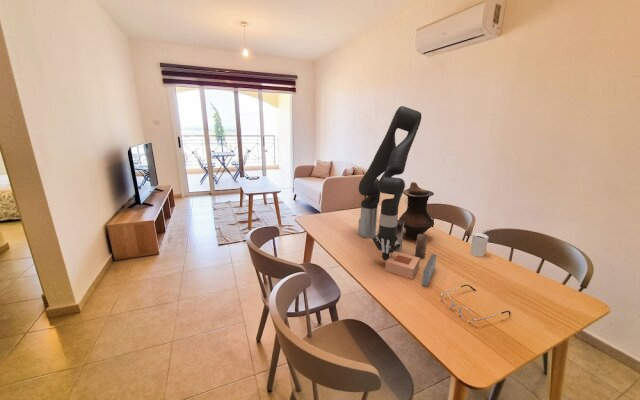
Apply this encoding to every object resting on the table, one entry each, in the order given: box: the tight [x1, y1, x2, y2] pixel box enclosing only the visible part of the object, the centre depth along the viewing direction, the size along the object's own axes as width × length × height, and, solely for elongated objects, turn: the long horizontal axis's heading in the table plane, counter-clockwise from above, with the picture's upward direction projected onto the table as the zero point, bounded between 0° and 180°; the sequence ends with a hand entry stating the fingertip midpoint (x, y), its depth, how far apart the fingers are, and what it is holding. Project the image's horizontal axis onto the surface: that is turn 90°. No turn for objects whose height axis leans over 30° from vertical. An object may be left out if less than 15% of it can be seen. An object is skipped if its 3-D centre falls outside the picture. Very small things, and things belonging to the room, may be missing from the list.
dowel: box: [414, 234, 428, 260], centre depth 123 cm, size 4×4×12 cm
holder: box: [384, 251, 421, 280], centre depth 113 cm, size 11×11×4 cm
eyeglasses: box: [440, 284, 511, 323], centre depth 91 cm, size 16×19×5 cm
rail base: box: [421, 253, 437, 288], centre depth 112 cm, size 24×16×8 cm, turn 57°
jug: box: [398, 181, 435, 241], centre depth 146 cm, size 21×18×30 cm
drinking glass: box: [470, 232, 489, 258], centre depth 129 cm, size 7×7×10 cm
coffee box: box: [390, 219, 405, 253], centre depth 131 cm, size 9×6×16 cm
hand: (385, 259), depth 117 cm, fingers closed
